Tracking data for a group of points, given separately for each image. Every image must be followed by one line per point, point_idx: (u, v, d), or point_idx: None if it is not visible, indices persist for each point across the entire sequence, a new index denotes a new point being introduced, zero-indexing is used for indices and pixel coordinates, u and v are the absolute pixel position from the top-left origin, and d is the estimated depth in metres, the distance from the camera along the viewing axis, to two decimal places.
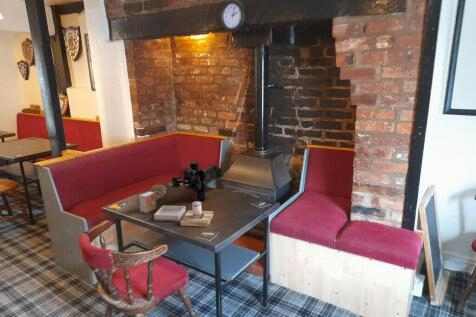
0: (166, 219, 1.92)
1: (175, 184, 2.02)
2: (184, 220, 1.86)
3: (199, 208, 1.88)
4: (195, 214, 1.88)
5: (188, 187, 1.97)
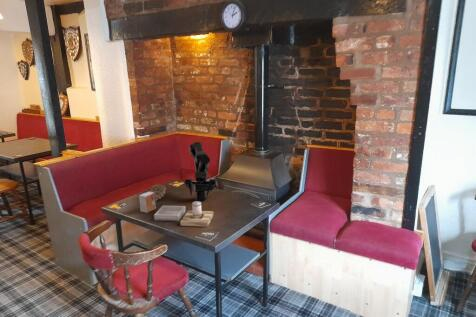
0: (166, 219, 1.92)
1: (192, 190, 1.97)
2: (184, 220, 1.86)
3: (199, 208, 1.88)
4: (195, 214, 1.88)
5: (208, 193, 1.95)
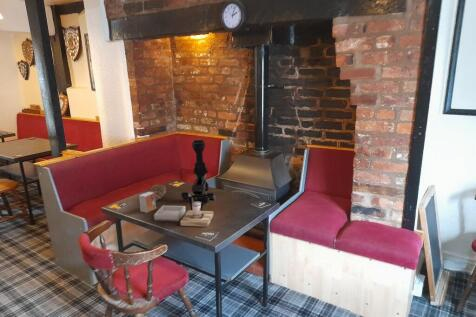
0: (166, 219, 1.92)
1: None
2: (184, 220, 1.86)
3: (199, 208, 1.88)
4: (195, 214, 1.88)
5: (202, 207, 1.89)
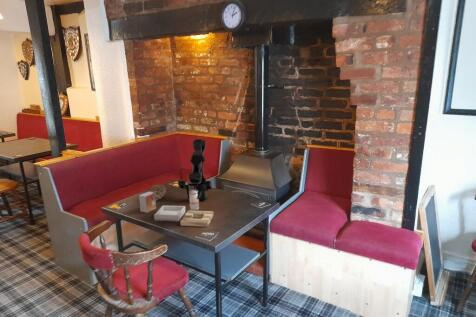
0: (166, 219, 1.92)
1: None
2: (184, 220, 1.86)
3: (196, 196, 1.87)
4: (192, 202, 1.87)
5: (199, 195, 1.88)
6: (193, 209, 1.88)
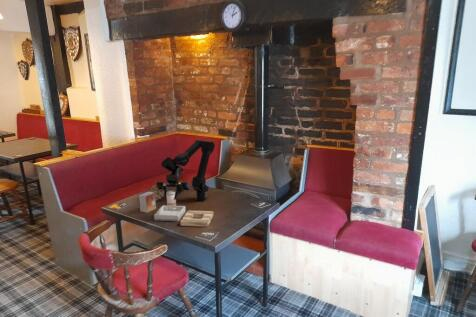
0: (166, 219, 1.92)
1: None
2: (184, 220, 1.86)
3: (173, 197, 1.92)
4: (169, 203, 1.93)
5: (176, 196, 1.94)
6: (170, 209, 1.94)
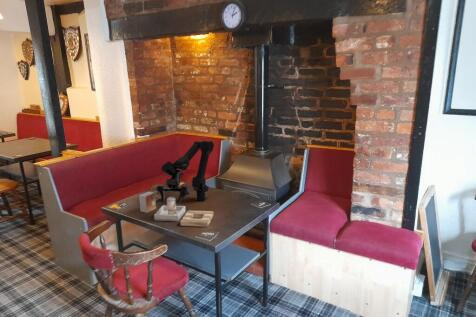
0: (166, 219, 1.92)
1: (163, 197, 1.96)
2: (184, 220, 1.86)
3: (173, 203, 1.93)
4: (169, 209, 1.93)
5: (180, 201, 1.94)
6: None
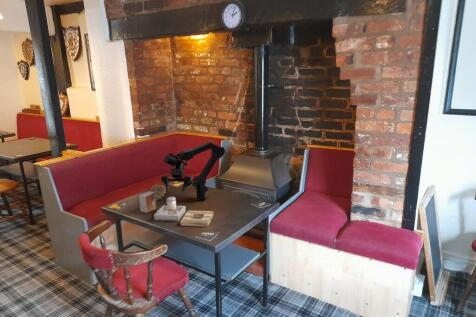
0: (166, 219, 1.92)
1: (168, 186, 2.03)
2: (184, 220, 1.86)
3: (173, 203, 1.93)
4: (169, 209, 1.93)
5: (183, 190, 2.01)
6: None
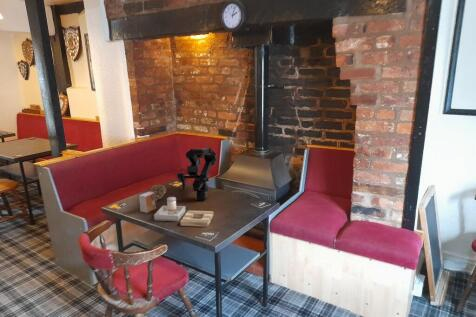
0: (166, 219, 1.92)
1: (184, 183, 2.04)
2: (184, 220, 1.86)
3: (173, 203, 1.93)
4: (170, 209, 1.93)
5: (200, 187, 2.02)
6: None
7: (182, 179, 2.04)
